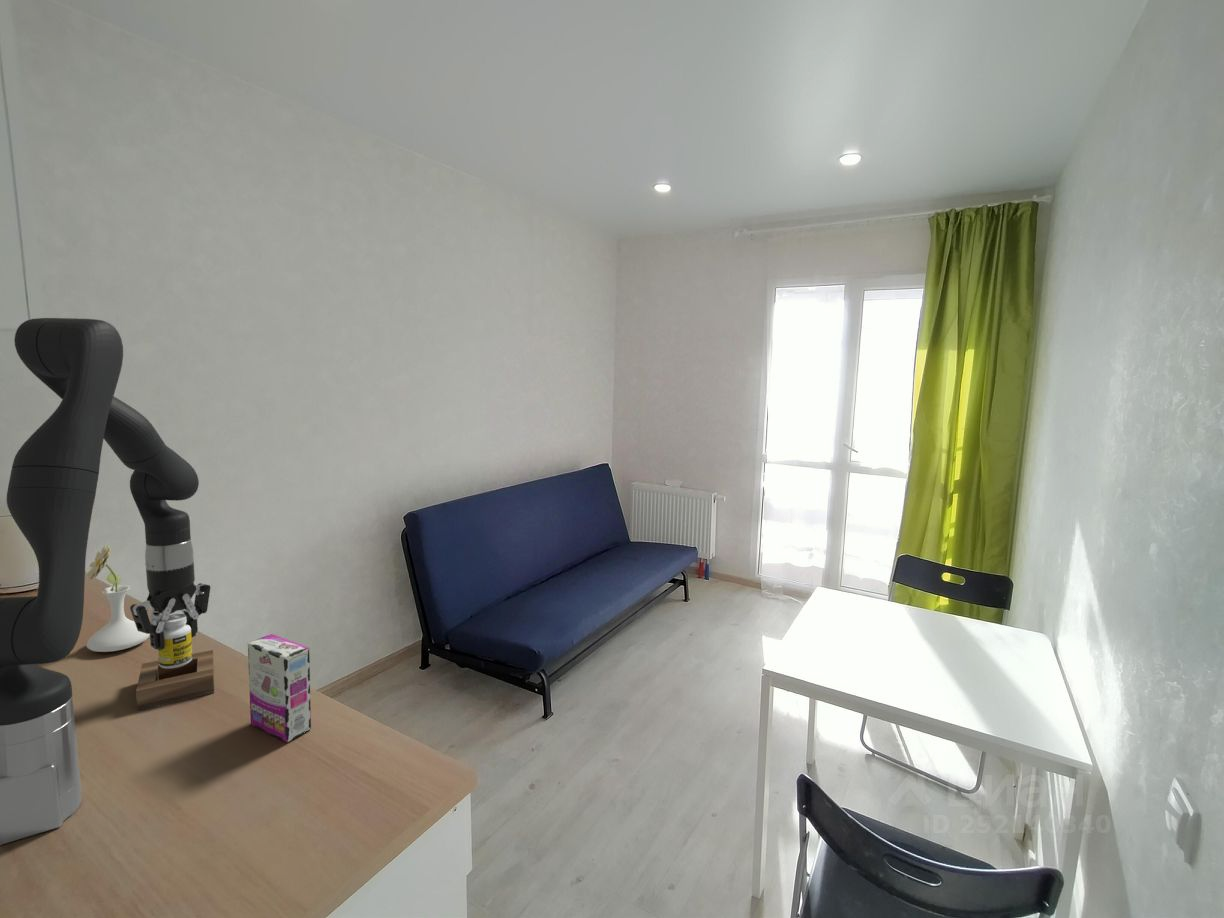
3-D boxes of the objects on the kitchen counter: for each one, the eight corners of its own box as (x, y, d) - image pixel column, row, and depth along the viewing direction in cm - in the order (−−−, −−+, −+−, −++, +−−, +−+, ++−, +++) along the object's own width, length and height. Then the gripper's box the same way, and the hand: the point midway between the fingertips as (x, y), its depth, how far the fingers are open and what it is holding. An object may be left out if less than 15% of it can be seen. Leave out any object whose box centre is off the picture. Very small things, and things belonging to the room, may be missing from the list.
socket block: (214, 692, 114) (213, 674, 113) (137, 710, 107) (135, 691, 106) (213, 666, 124) (213, 649, 123) (143, 681, 117) (142, 663, 116)
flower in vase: (96, 638, 133) (88, 537, 130) (157, 631, 138) (150, 533, 135) (75, 664, 122) (65, 554, 118) (142, 655, 127) (134, 549, 123)
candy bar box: (313, 729, 104) (311, 646, 102) (287, 744, 100) (284, 658, 97) (275, 711, 109) (272, 632, 107) (249, 724, 105) (245, 642, 102)
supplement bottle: (174, 671, 111) (171, 625, 110) (152, 667, 112) (149, 621, 111) (199, 658, 117) (196, 614, 115) (178, 654, 118) (175, 610, 116)
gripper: (142, 577, 104) (148, 662, 106) (219, 555, 117) (223, 631, 119) (116, 570, 106) (122, 654, 108) (194, 550, 119) (198, 624, 122)
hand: (175, 642), depth 114 cm, fingers closed on supplement bottle, 5 cm apart
